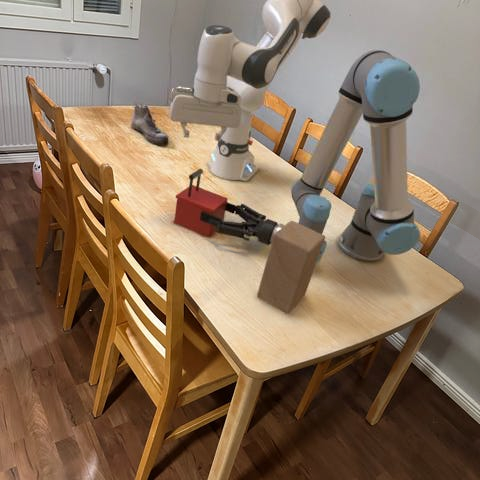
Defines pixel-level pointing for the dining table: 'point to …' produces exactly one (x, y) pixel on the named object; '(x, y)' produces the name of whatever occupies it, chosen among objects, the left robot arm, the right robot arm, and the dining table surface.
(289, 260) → the wooden block
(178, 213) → the chest
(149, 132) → the shoe
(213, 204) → the lid
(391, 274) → the dining table surface
